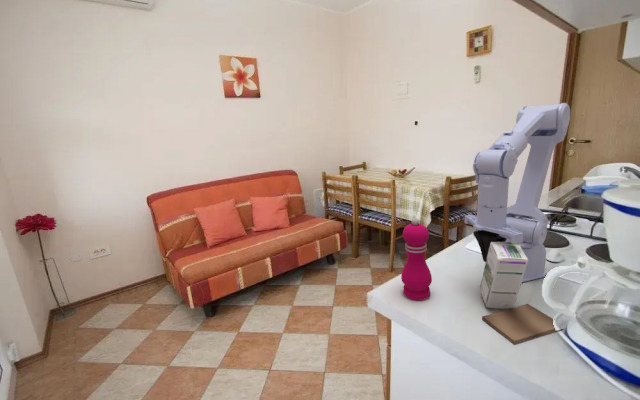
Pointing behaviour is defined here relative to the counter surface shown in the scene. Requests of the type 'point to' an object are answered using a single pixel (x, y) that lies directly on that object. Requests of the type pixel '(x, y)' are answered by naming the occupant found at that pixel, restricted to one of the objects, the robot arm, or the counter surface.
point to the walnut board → (520, 323)
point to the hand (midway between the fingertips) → (489, 261)
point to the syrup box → (503, 274)
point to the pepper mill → (416, 262)
